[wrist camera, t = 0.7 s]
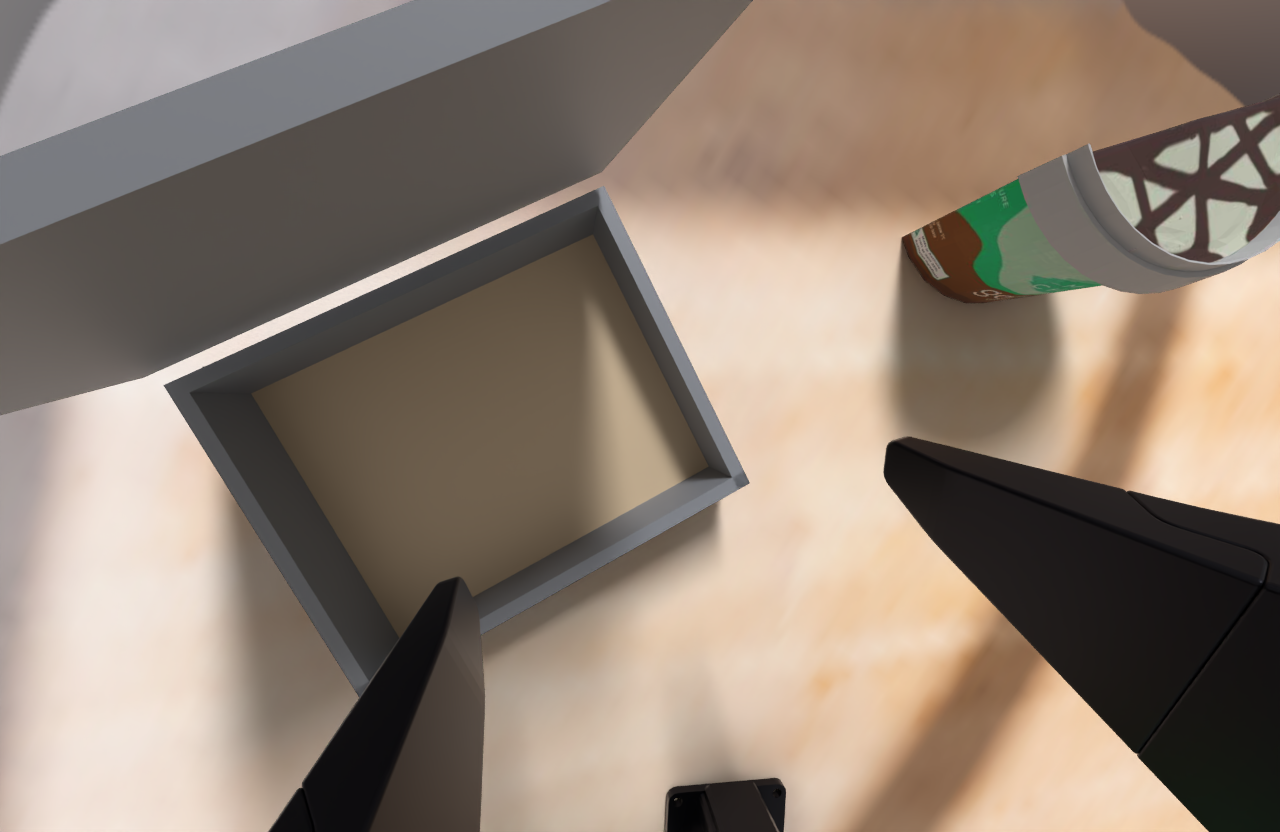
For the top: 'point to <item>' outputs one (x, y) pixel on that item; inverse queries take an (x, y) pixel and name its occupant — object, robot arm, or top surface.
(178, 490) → the top surface
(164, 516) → the top surface
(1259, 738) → the robot arm
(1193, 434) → the top surface
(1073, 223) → the food container
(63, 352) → the mailer lid
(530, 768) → the top surface
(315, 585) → the box
